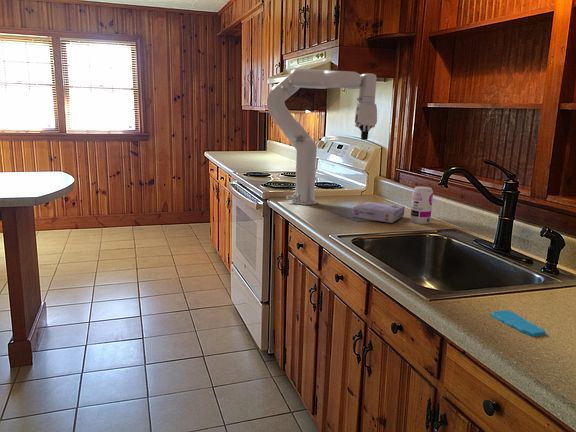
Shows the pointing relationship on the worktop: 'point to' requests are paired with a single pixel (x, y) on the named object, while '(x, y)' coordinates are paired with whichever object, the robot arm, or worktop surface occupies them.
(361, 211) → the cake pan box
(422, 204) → the supplement can
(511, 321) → the sponge
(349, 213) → the mat
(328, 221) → the worktop surface
